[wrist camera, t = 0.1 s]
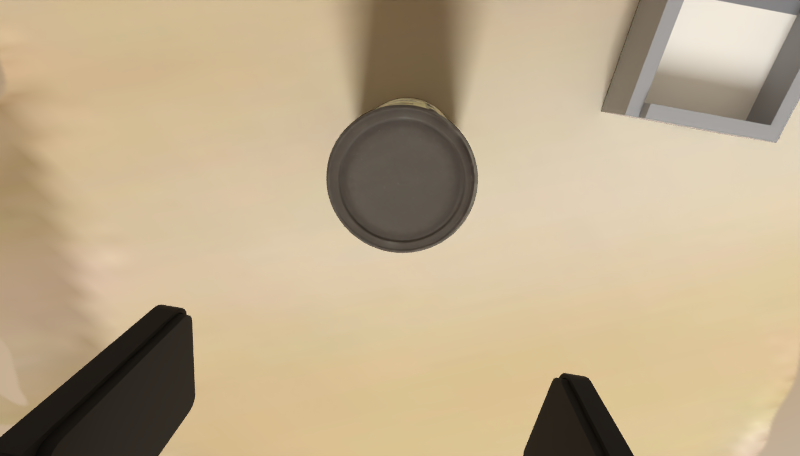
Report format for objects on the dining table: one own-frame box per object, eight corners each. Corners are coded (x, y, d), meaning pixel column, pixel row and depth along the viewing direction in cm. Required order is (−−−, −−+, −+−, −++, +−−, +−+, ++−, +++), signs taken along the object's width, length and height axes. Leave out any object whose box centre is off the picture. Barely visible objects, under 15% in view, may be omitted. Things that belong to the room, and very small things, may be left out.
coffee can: (392, 215, 41) (380, 277, 28) (337, 134, 38) (295, 160, 25) (476, 166, 39) (505, 207, 26) (424, 75, 36) (427, 70, 23)
